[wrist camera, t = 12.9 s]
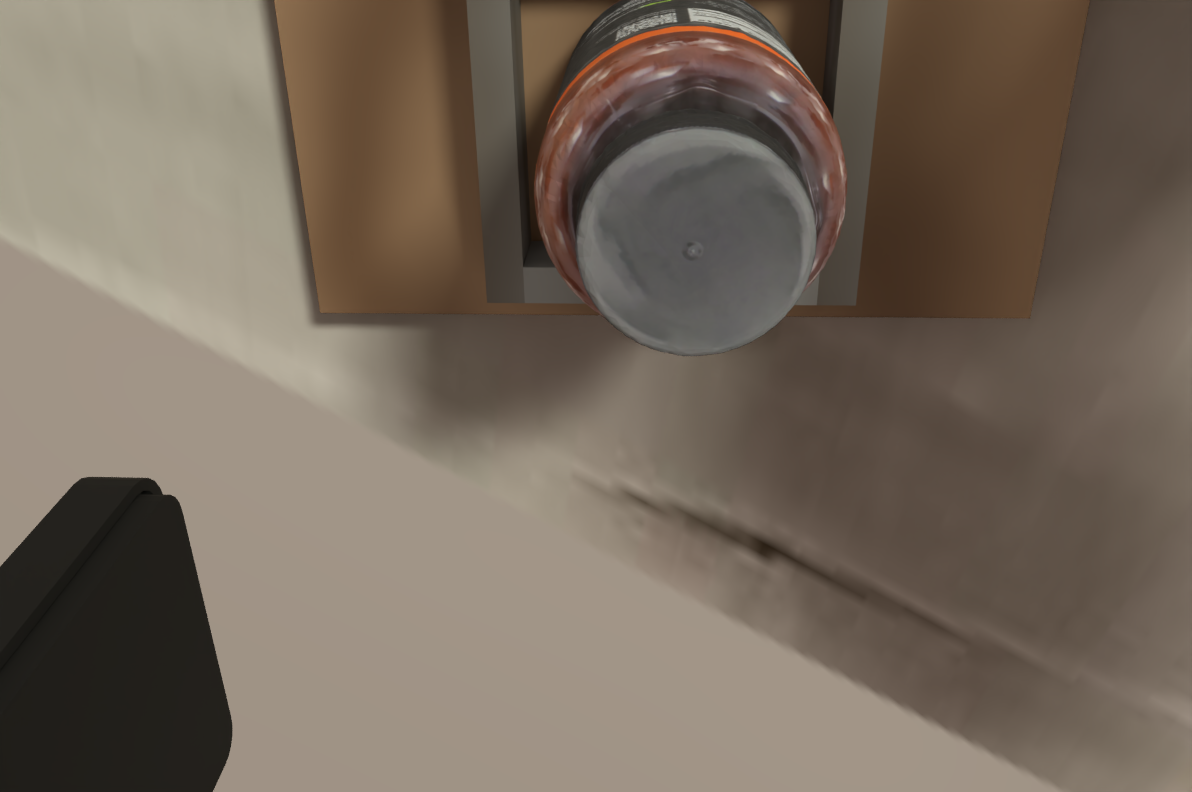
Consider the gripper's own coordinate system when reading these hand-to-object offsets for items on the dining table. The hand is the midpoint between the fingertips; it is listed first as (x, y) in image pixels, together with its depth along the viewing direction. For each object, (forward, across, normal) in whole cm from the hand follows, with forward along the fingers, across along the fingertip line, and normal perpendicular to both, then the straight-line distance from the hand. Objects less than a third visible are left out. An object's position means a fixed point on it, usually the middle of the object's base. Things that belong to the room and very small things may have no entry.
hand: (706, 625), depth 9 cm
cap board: (+22, 0, 0) cm, 22 cm away
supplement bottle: (+21, 0, 0) cm, 21 cm away
